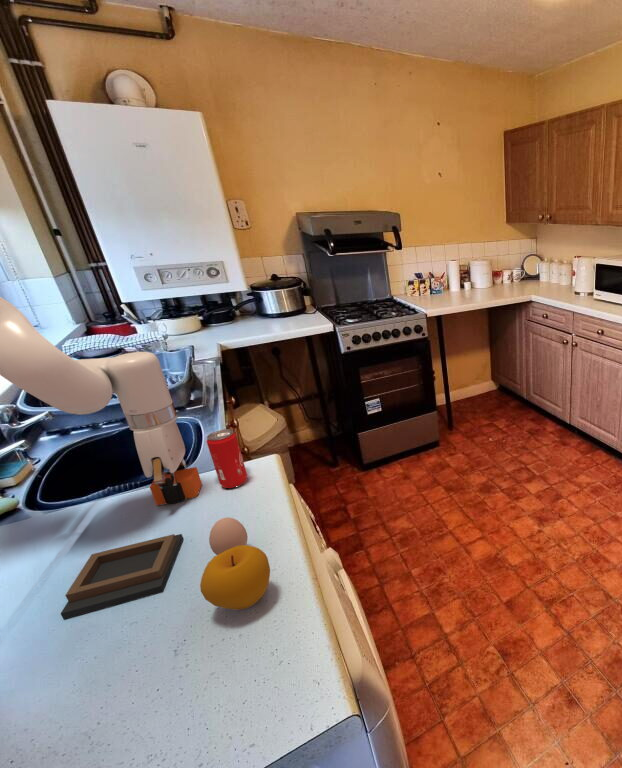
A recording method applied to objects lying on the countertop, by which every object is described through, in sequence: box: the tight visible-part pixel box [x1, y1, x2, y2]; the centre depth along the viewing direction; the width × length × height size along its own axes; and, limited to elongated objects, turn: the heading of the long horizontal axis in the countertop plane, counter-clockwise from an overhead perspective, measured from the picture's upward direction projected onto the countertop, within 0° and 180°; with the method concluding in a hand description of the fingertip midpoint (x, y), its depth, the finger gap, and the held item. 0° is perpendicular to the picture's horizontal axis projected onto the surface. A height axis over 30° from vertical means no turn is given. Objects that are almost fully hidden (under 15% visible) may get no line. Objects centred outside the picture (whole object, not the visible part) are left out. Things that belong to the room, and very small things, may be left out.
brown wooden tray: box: [60, 533, 184, 620], centre depth 71 cm, size 12×13×3 cm
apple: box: [200, 544, 271, 611], centre depth 64 cm, size 8×8×9 cm
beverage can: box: [206, 428, 248, 489], centre depth 93 cm, size 5×5×12 cm
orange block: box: [149, 466, 203, 506], centre depth 91 cm, size 7×5×4 cm
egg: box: [208, 517, 248, 556], centre depth 73 cm, size 5×5×7 cm
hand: (179, 493), depth 91 cm, fingers closed on orange block, 5 cm apart
